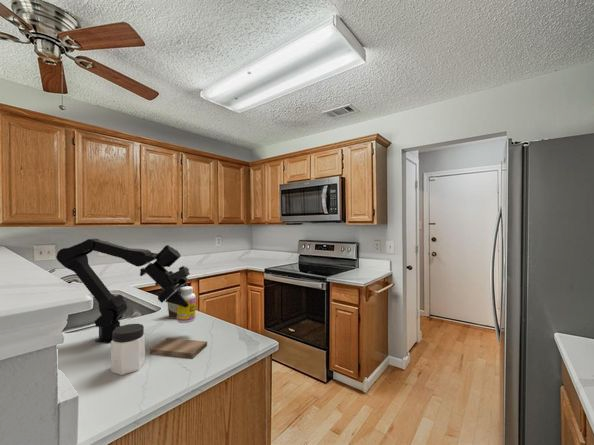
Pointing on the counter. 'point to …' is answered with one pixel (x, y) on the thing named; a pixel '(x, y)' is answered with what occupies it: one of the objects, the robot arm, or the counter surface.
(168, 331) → the counter surface
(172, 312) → the food container
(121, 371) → the jar
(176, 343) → the walnut board
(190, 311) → the supplement bottle
